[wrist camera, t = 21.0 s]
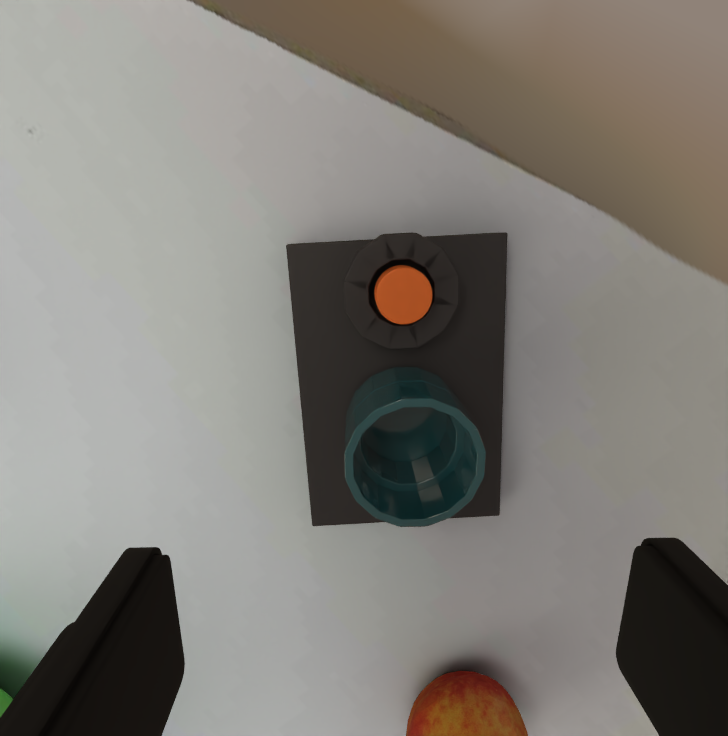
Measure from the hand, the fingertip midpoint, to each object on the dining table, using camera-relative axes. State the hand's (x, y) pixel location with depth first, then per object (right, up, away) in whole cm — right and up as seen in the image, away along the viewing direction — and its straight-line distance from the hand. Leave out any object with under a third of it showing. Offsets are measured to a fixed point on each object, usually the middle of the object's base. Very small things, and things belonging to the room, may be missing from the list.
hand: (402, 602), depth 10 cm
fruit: (+5, -18, +24) cm, 31 cm away
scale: (+1, +4, +18) cm, 18 cm away
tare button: (+1, +8, +14) cm, 16 cm away
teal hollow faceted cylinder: (+1, +2, +17) cm, 17 cm away
